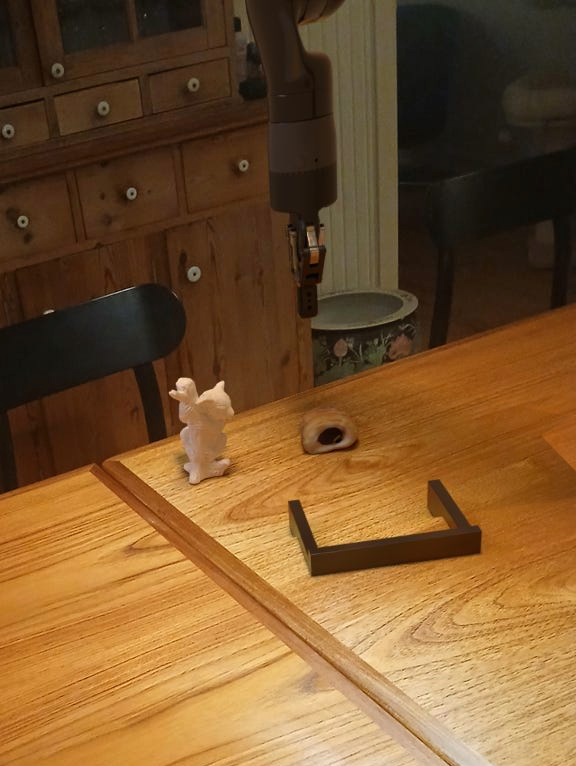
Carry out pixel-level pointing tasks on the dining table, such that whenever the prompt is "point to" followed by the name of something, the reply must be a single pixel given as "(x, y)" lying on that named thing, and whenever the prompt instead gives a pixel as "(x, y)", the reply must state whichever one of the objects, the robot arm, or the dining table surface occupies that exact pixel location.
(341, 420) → the pastry
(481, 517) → the dining table surface
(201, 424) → the white animal figurine
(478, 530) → the frame
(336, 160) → the robot arm
